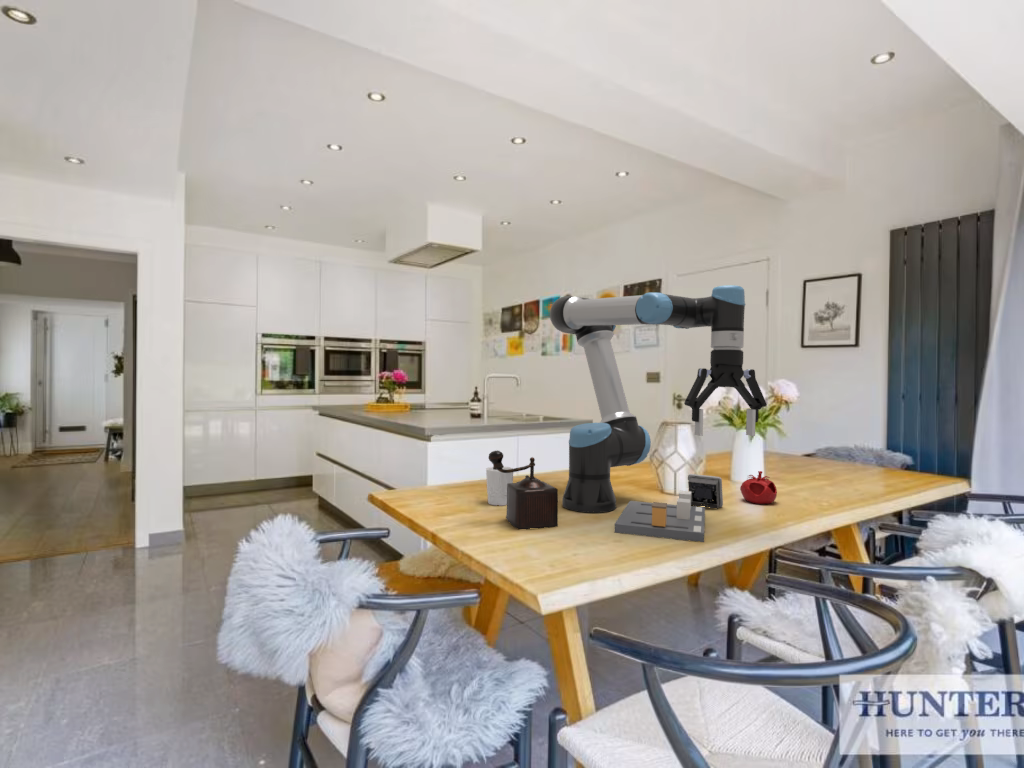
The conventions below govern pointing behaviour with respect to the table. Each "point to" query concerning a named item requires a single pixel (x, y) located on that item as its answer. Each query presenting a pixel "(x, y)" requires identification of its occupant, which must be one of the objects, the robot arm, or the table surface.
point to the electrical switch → (705, 490)
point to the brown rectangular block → (659, 514)
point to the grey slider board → (680, 520)
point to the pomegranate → (759, 490)
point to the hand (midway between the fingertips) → (724, 435)
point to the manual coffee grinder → (528, 498)
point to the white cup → (498, 485)
